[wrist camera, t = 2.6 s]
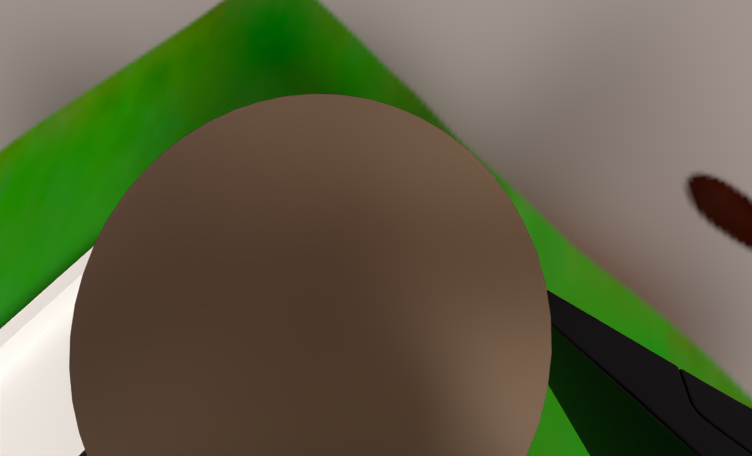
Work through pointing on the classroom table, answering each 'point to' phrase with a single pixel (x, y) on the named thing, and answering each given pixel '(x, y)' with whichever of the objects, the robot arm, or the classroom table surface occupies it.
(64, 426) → the white rectangular tray
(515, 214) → the brown wooden spool
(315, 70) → the classroom table surface
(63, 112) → the classroom table surface
